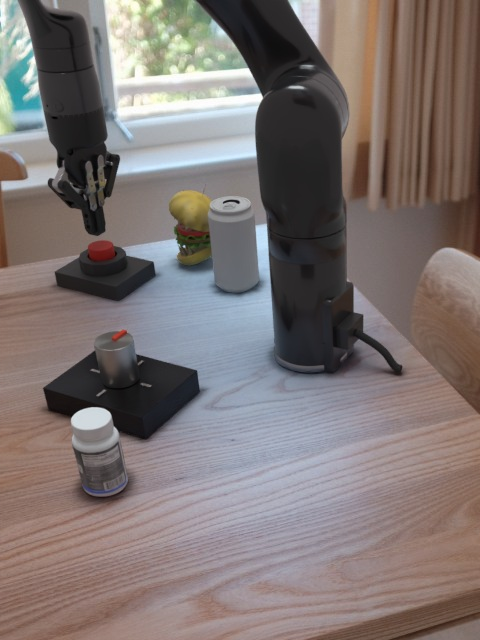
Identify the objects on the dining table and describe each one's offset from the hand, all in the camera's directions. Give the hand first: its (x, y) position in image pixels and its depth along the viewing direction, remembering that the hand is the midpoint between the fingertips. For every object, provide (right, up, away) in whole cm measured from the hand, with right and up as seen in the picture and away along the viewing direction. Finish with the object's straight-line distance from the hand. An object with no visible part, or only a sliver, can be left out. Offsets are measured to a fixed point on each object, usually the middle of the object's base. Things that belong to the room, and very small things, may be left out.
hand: (96, 233), depth 128 cm
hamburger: (+13, -2, +9) cm, 16 cm away
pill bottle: (+10, -36, -32) cm, 50 cm away
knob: (+9, -24, -22) cm, 33 cm away
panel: (+9, -26, -20) cm, 34 cm away
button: (0, -3, +2) cm, 4 cm away
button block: (0, -5, +5) cm, 7 cm away
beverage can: (+19, -7, +3) cm, 21 cm away
